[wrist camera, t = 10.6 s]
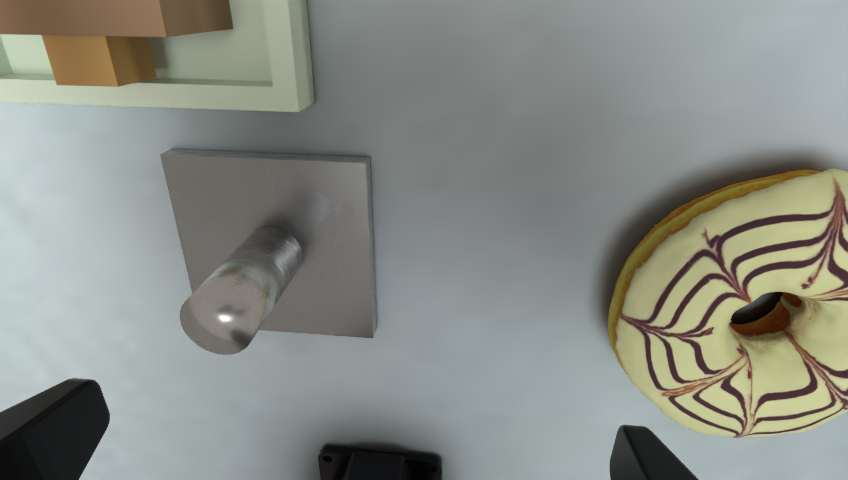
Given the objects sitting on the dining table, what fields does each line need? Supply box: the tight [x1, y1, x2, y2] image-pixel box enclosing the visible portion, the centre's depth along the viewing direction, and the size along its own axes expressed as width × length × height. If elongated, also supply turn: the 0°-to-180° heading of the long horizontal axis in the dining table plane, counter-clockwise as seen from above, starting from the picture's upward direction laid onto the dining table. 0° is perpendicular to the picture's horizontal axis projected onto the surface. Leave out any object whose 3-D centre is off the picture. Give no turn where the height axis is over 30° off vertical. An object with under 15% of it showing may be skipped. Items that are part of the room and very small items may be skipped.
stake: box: [160, 149, 377, 354], centre depth 18 cm, size 8×8×6 cm
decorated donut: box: [608, 168, 848, 438], centre depth 18 cm, size 10×11×4 cm
